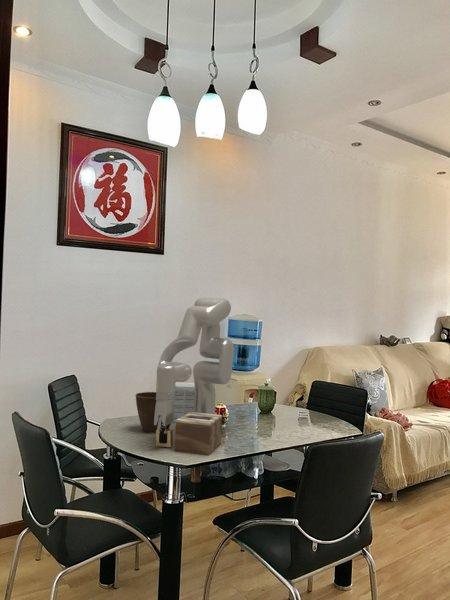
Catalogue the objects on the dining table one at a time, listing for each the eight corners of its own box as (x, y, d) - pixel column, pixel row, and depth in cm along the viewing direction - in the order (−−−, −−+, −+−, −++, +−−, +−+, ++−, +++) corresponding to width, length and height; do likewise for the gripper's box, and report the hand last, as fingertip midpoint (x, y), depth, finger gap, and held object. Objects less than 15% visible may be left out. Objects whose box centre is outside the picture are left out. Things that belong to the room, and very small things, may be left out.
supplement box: (171, 416, 258) (172, 381, 258) (197, 417, 259) (198, 382, 259) (169, 422, 245) (171, 386, 245) (197, 423, 245) (198, 386, 245)
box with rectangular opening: (188, 440, 214) (189, 411, 214) (220, 444, 210) (221, 415, 210) (174, 450, 198) (175, 419, 199) (209, 455, 195) (210, 423, 195)
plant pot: (127, 431, 225) (128, 395, 225) (147, 424, 238) (148, 390, 238) (155, 436, 218) (156, 399, 218) (174, 429, 231) (175, 394, 231)
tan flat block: (158, 444, 205) (158, 428, 205) (172, 445, 204) (172, 429, 204) (156, 446, 203) (156, 429, 203) (170, 447, 201) (170, 430, 201)
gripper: (164, 391, 212) (163, 436, 212) (148, 399, 197) (147, 446, 197) (181, 393, 210) (180, 438, 210) (166, 400, 195) (165, 448, 195)
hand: (164, 441), depth 203 cm, fingers closed on tan flat block, 2 cm apart
